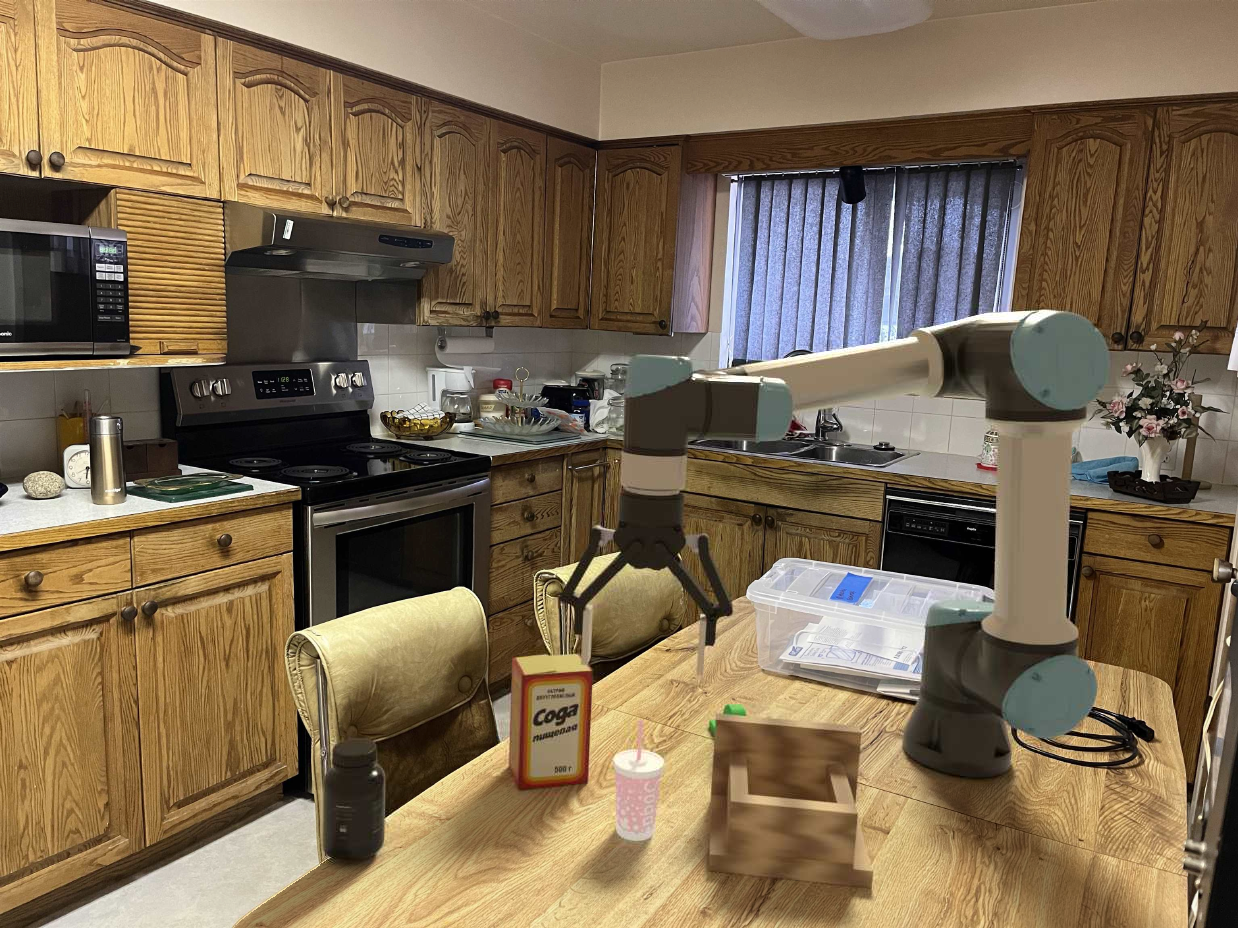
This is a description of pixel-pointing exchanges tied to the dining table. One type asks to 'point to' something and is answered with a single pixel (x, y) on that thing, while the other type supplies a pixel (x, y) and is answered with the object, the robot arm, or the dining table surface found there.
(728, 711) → the mechanical part
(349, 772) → the supplement bottle
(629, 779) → the beverage cup
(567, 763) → the baking soda box
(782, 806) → the wooden caddy with backboard
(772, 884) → the dining table surface
